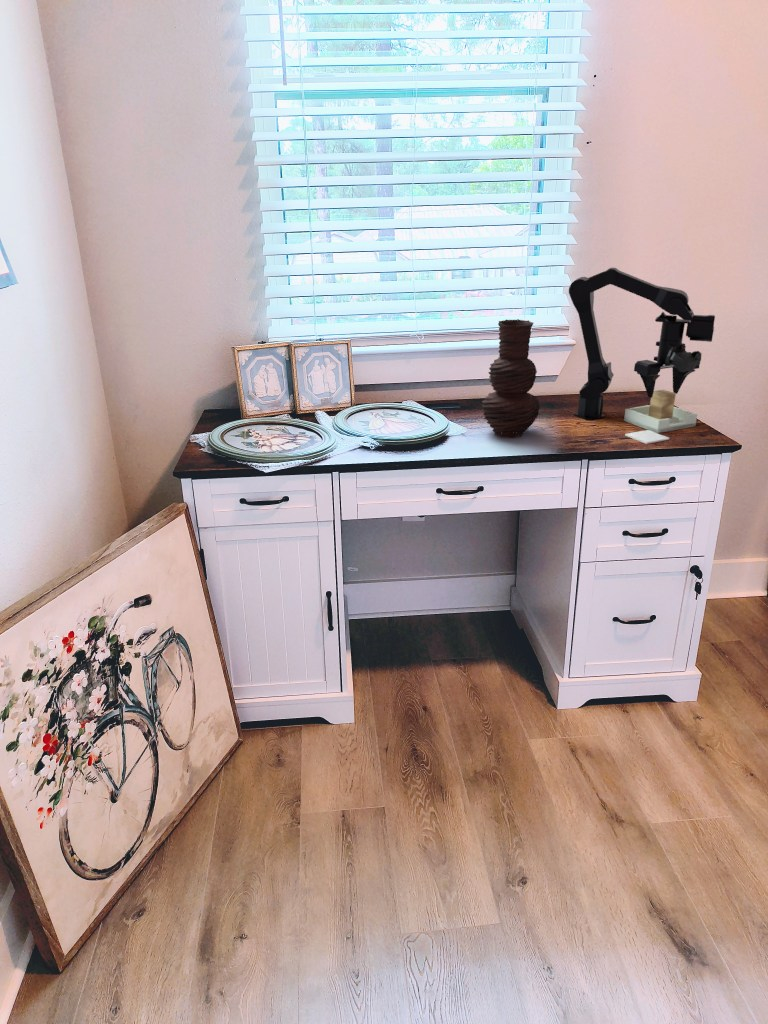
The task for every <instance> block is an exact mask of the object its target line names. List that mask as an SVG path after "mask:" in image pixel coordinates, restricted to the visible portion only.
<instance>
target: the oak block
mask: <svg viewBox="0 0 768 1024" xmlns="http://www.w3.org/2000/svg"><path fill="white" fill-rule="evenodd" d="M675 401H676V393H673V391H671V390H667V389H659V390H654V392H653V396H652V398H650V402H649V405H650V408H649V415H648V416H651V417H654V418H656V419H659V420H660V419H666V418H672V416H673V409H674V407H675V404H676V403H675Z"/></svg>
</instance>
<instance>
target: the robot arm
mask: <svg viewBox="0 0 768 1024" xmlns="http://www.w3.org/2000/svg"><path fill="white" fill-rule="evenodd" d="M609 285H612V286H614V287H616V288H618V289H622V290H623V291H626V292H628V293H631V294H634V295H636V296H638V297H641V298H643V299H645V300H648V301H651V302H652V303H653V304H654V305H655V306H657V307H659V308H660V309H662V310H663V311H662V312H661V313H660V314H659V315H658V316H657V317H655V322H656V323H661V329H660V336H659V341H655V346H657V347H658V349H657V350H658V351H657V355H656V356H654V357H653V360H649V359H644V360H637V361H636V362H635V363H634V369H633V372H636V374H637V375H640V379H641V380H642V383H643V386H644V388H645V390H646V395H647V396H648V398H649V399H651V398H652V396H653V392H654V391H655V385H656V381H657V380H658V378H659V377H661V374H659V373H660V372H661V370H663V369H671V368H672V369H671V370H672V392H673V393H676V394H677V395H678V393H679V392H680V389H681V388H682V385H683V383H684V382H685V380H686V379H687V377H688V376H689V375H690V374H692V373H693V372H694V373H695V372H696V369H700V364H701V361H702V352H701V351H699V350H696V351H692V352H691V351H687V350H686V347H687V346H686V343H683V339H684V338H683V337H684V331H685V327H686V332H685V337H687V338H688V339H689V341H695V342H708V343H709V342H713V336H714V335H713V334H714V332H715V325H714V324H715V319H716V315H715V314H708V315H704V314H701V315H700V314H695V313H694V311H693V310H692V308H691V306H690V305H689V301H690V300H689V296H688V295H689V294H688V293H687V292H685V290H682V289H677V288H674V287H673V288H671V287H667V286H666V287H665V286H659V285H655V284H654V283H651V282H649V281H646V280H644V279H641V278H638V277H636V276H635V275H631V274H629V273H626V272H624V271H621V270H619V269H618V268H617V267H609V268H608V269H606V270H604V271H602V272H599V273H597V274H595V275H592V276H589V277H587V276H580V277H578V278H576V279H575V280H574V281H573V282H571V283H570V285H569V287H568V294H569V297H570V299H571V302H572V304H573V307H574V308H575V310H576V312H577V313H578V317H579V324H580V328H581V332H582V337H583V342H584V348H585V352H586V357H587V361H588V364H587V365H588V366H587V381H586V382H585V383H584V384H583V386H582V387H581V389H580V390H579V392H578V393H579V395H578V405H577V412H574V413H573V415H574V416H576V417H579V418H581V419H584V420H587V421H590V420H596V419H602V418H605V417H606V415H604V414H603V408H604V395H603V393H604V392H606V391H607V390H608V388H609V387H610V386H611V383H612V380H613V377H614V376H615V374H614V373H613V371H612V362H611V361H610V362H606V361H605V359H604V357H603V351H602V347H601V341H600V336H599V331H598V326H597V321H596V317H595V311H594V301H595V292H596V291H597V290H600V289H602V288H605V287H607V286H609ZM664 311H665V312H667V313H668V314H669V315H668V314H666V313H665V312H664ZM678 317H680V318H678ZM686 324H687V326H686Z"/></svg>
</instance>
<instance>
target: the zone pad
mask: <svg viewBox="0 0 768 1024" xmlns="http://www.w3.org/2000/svg"><path fill="white" fill-rule="evenodd" d="M624 436H625V437H628V438H630V439H633V440H635V441H638V442H641V443H643V444H646V445H648V444H653V443H658V442H662V441H663V442H664V441H668V440H670V437H668V436H665V435H662V434H660V433H655V432H652V431H650V430H647V429H645V430H639V431H634V432H630V433H629V432H628V433H625V434H624Z"/></svg>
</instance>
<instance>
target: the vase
mask: <svg viewBox="0 0 768 1024" xmlns="http://www.w3.org/2000/svg"><path fill="white" fill-rule="evenodd" d="M497 325H498V327H499V328H498V330H499V333H498V336H499V337H498V339H499V340H500V341H499V342H498V344H499V346H498V349H499V350H498V353H499V355H498V356H499V357H497V359H494V361H493V363H491V364H489V366H490V367H488V370H490V371H487V372H488V374H489V379H490V380H489V383H490V384H491V385H490V386H491V387H492V390H493V392H490V393H488V395H487V396H485V397H484V400H482V401H481V403H482V409H481V411H482V413H483V414H482V415H483V416H484V420H486V423H487V424H488V425H489V427H490V428H492V431H493V432H494V435H495V436H497V437H500V438H507V439H514V438H519V437H521V438H522V437H523V435H524V434H525V433H526V431H527V430H529V428H530V427H531V426H532V425H533V423H534V422H535V421H536V419H537V418H538V416H539V411H540V407H541V406H540V404H539V402H540V401H539V399H538V398H537V397H536V396H535V395H533V394H532V393H529V392H530V391H531V389H532V388H533V387H534V385H535V384H534V383H535V381H536V378H537V376H536V375H537V372H538V370H537V367H536V365H535V363H534V362H533V360H531V359H529V358H528V357H529V353H530V352H529V351H530V345H529V344H530V341H531V336H532V331H531V330H532V327H533V326H534V322H531V321H530V320H528V319H527V320H523V319H505V320H498V324H497Z"/></svg>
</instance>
